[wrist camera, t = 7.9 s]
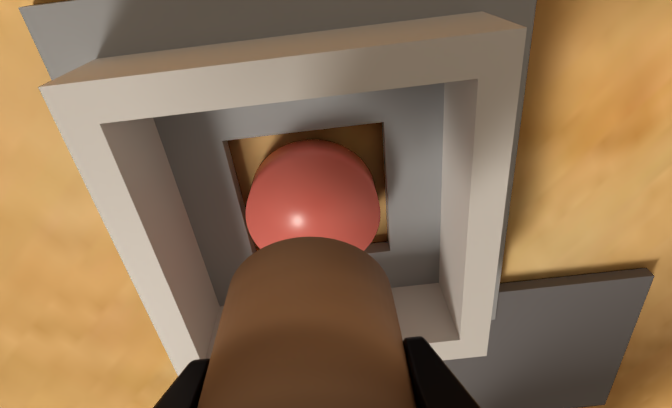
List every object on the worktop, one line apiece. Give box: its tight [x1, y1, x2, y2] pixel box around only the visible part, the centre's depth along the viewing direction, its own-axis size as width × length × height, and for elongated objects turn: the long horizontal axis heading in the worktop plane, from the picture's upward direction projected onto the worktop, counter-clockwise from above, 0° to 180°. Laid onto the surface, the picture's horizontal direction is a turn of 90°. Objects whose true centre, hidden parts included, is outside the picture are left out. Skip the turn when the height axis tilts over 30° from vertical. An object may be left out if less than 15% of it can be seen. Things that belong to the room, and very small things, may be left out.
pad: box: [443, 268, 654, 408], centre depth 20 cm, size 9×9×1 cm
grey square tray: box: [19, 0, 537, 376], centre depth 14 cm, size 14×14×4 cm
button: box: [246, 139, 380, 251], centre depth 14 cm, size 4×4×1 cm
